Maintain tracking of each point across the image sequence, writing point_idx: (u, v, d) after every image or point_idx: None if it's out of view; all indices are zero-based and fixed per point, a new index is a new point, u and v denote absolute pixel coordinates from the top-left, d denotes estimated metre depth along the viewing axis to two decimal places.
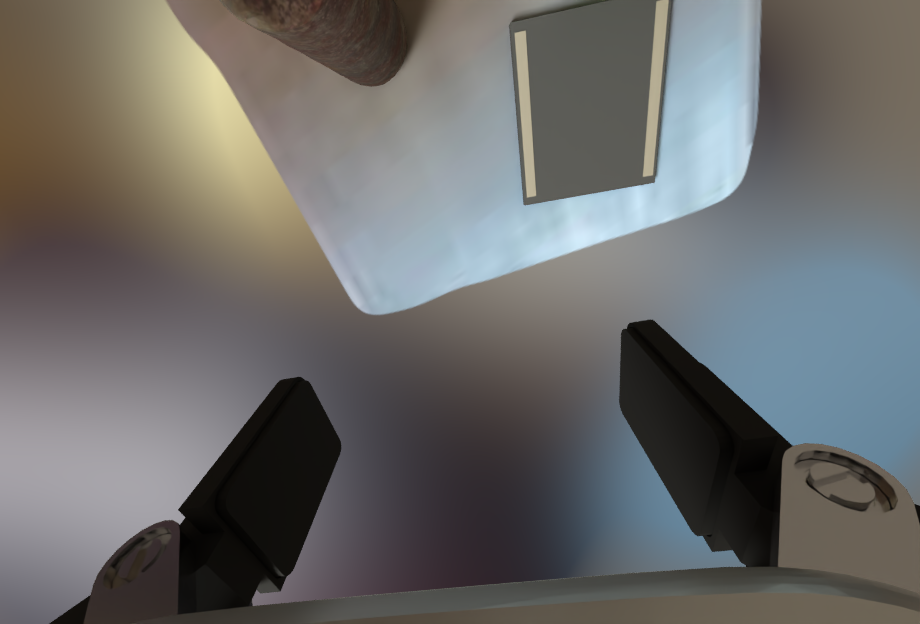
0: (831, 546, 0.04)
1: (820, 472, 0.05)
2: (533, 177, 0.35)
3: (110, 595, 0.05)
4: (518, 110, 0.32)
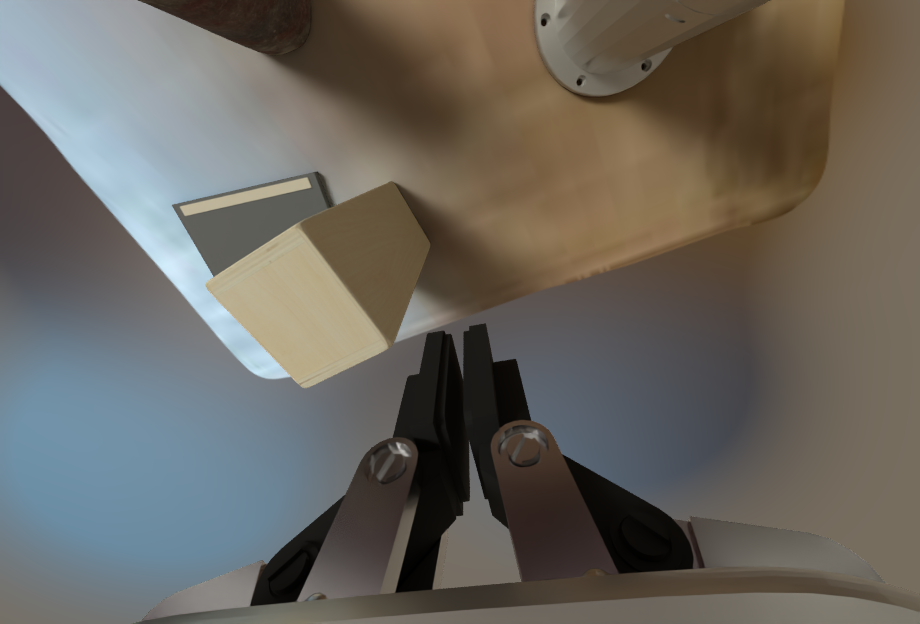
0: (534, 505, 0.05)
1: (512, 447, 0.06)
2: (201, 211, 0.34)
3: (383, 489, 0.06)
4: (251, 187, 0.33)
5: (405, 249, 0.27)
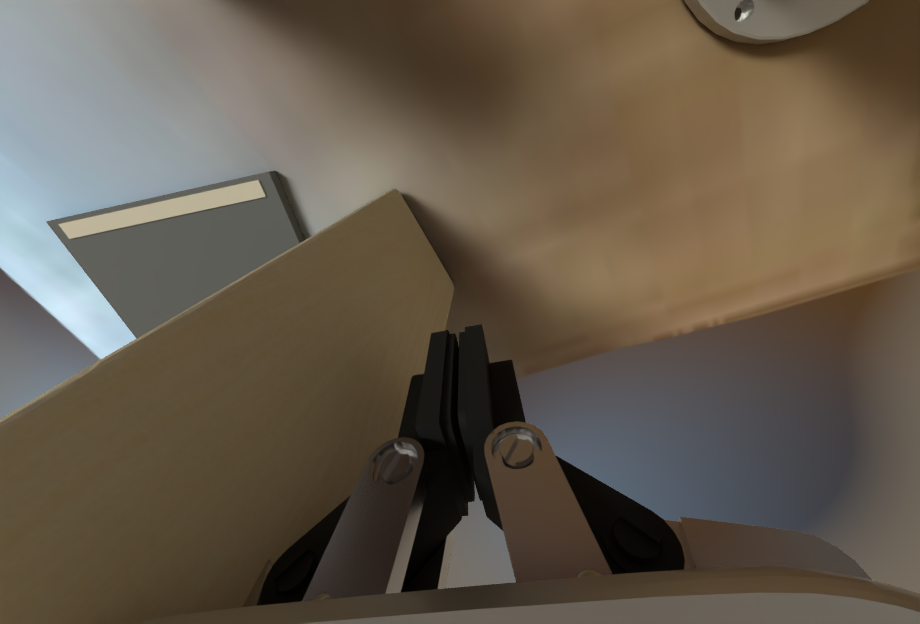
0: (527, 507, 0.05)
1: (505, 448, 0.06)
2: (93, 231, 0.22)
3: (389, 489, 0.06)
4: (169, 196, 0.20)
5: (409, 330, 0.14)
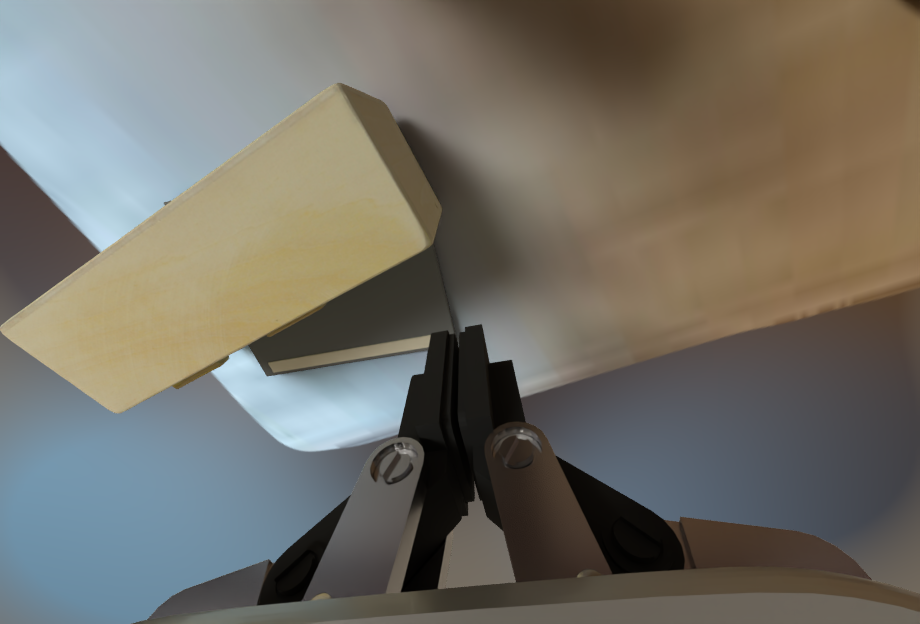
0: (527, 507, 0.05)
1: (505, 449, 0.06)
2: None
3: (389, 489, 0.06)
4: None
5: None
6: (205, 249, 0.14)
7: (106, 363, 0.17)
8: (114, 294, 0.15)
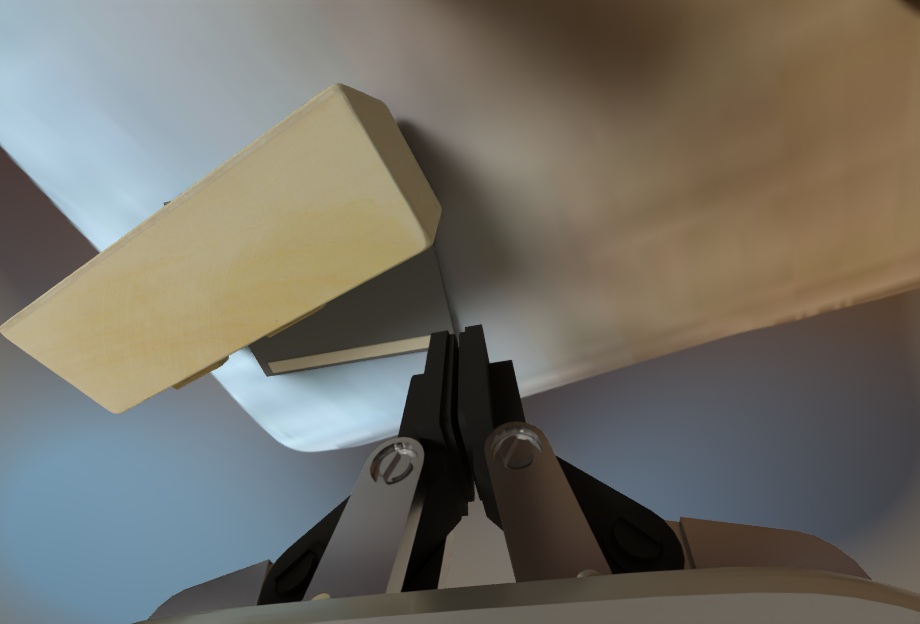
0: (527, 507, 0.05)
1: (505, 448, 0.06)
2: None
3: (389, 489, 0.06)
4: None
5: None
6: (205, 249, 0.14)
7: (106, 363, 0.17)
8: (114, 294, 0.15)
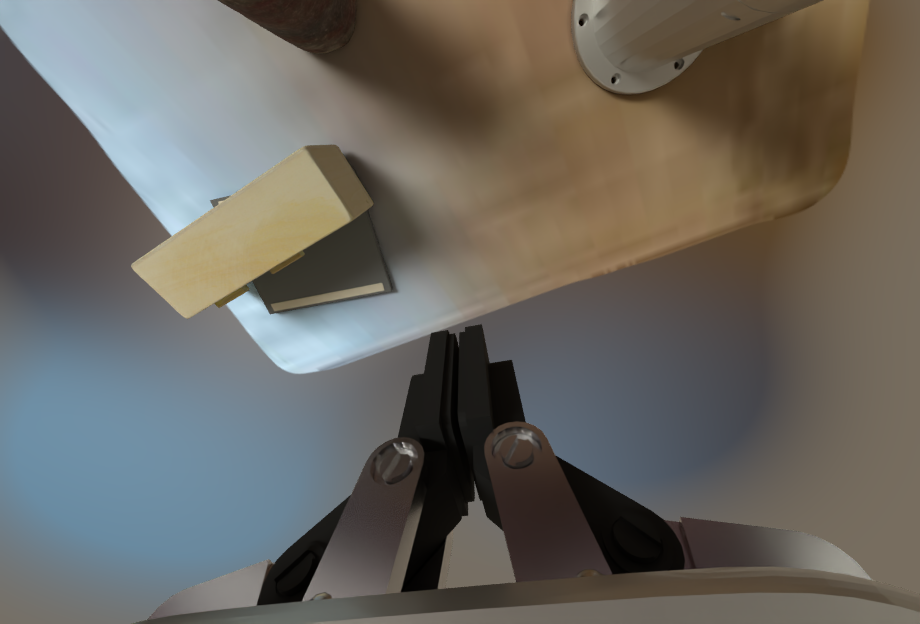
0: (527, 507, 0.05)
1: (505, 448, 0.06)
2: None
3: (389, 489, 0.06)
4: None
5: None
6: (242, 221, 0.28)
7: (185, 285, 0.31)
8: (194, 245, 0.29)
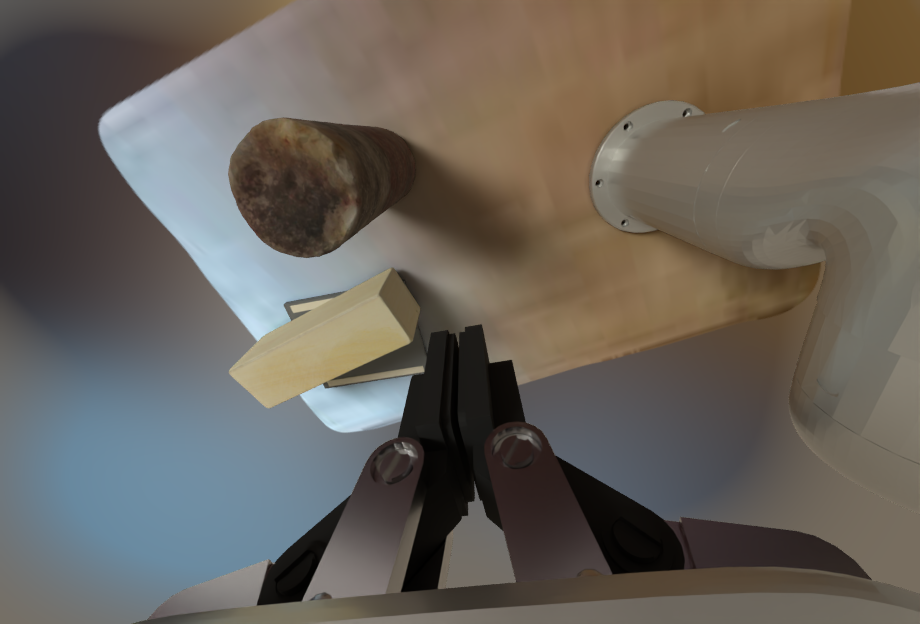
0: (527, 507, 0.05)
1: (505, 448, 0.06)
2: (306, 309, 0.42)
3: (389, 489, 0.06)
4: None
5: (314, 319, 0.36)
6: (323, 343, 0.35)
7: (270, 385, 0.38)
8: (282, 358, 0.36)
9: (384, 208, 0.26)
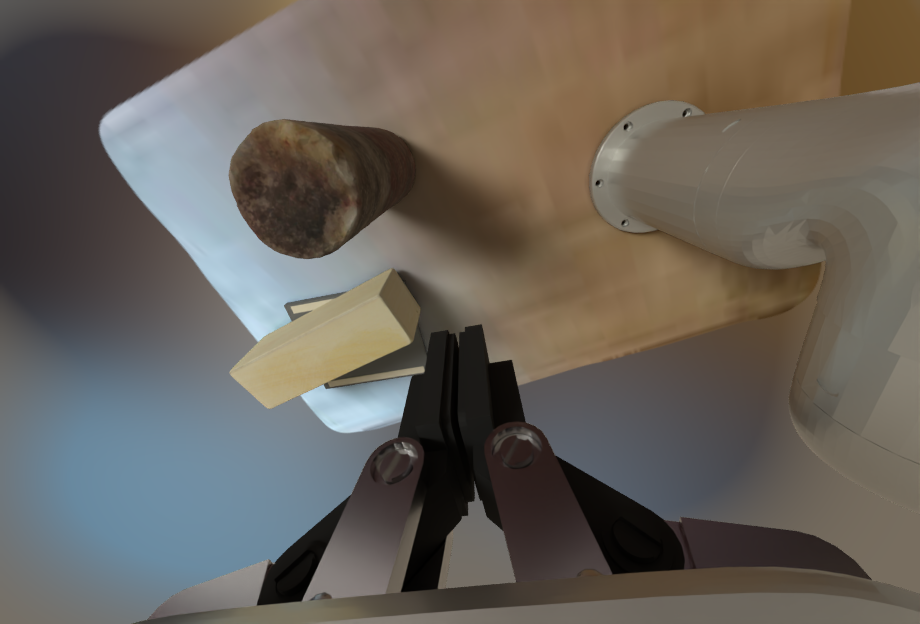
0: (527, 507, 0.05)
1: (505, 448, 0.06)
2: (307, 310, 0.42)
3: (389, 489, 0.06)
4: None
5: (314, 320, 0.36)
6: (323, 343, 0.35)
7: (271, 386, 0.38)
8: (283, 359, 0.36)
9: (384, 209, 0.26)
